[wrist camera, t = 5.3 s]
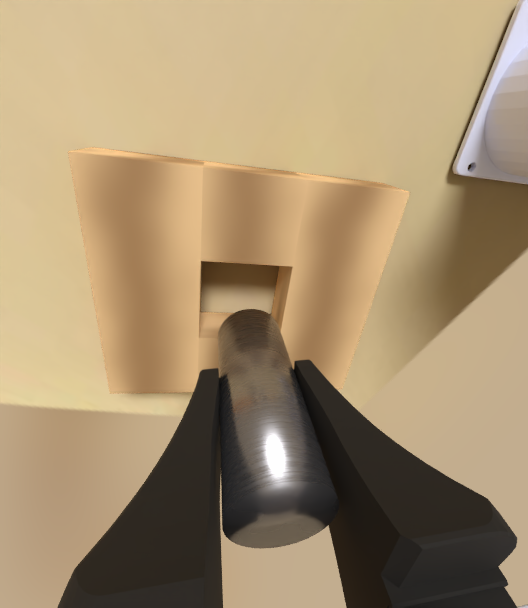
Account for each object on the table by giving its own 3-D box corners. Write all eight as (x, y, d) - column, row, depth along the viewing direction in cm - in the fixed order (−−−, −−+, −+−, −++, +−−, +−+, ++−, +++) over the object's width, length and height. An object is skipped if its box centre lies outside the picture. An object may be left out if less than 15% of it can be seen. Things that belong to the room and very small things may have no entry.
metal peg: (279, 306, 14) (345, 474, 7) (279, 356, 15) (333, 536, 9) (214, 312, 14) (216, 495, 7) (220, 363, 15) (227, 556, 8)
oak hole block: (382, 183, 18) (410, 192, 15) (328, 362, 25) (342, 389, 22) (92, 147, 15) (67, 151, 12) (121, 362, 22) (109, 393, 19)
